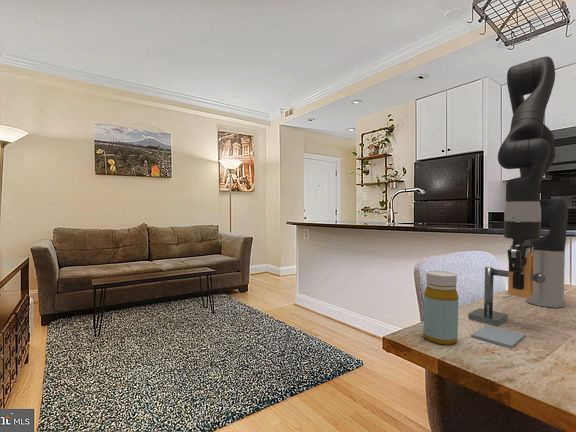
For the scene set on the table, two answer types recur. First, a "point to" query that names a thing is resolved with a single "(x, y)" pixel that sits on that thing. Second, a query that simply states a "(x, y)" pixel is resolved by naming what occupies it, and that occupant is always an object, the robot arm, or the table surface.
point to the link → (528, 283)
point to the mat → (498, 336)
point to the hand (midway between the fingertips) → (520, 287)
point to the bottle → (441, 308)
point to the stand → (487, 313)
